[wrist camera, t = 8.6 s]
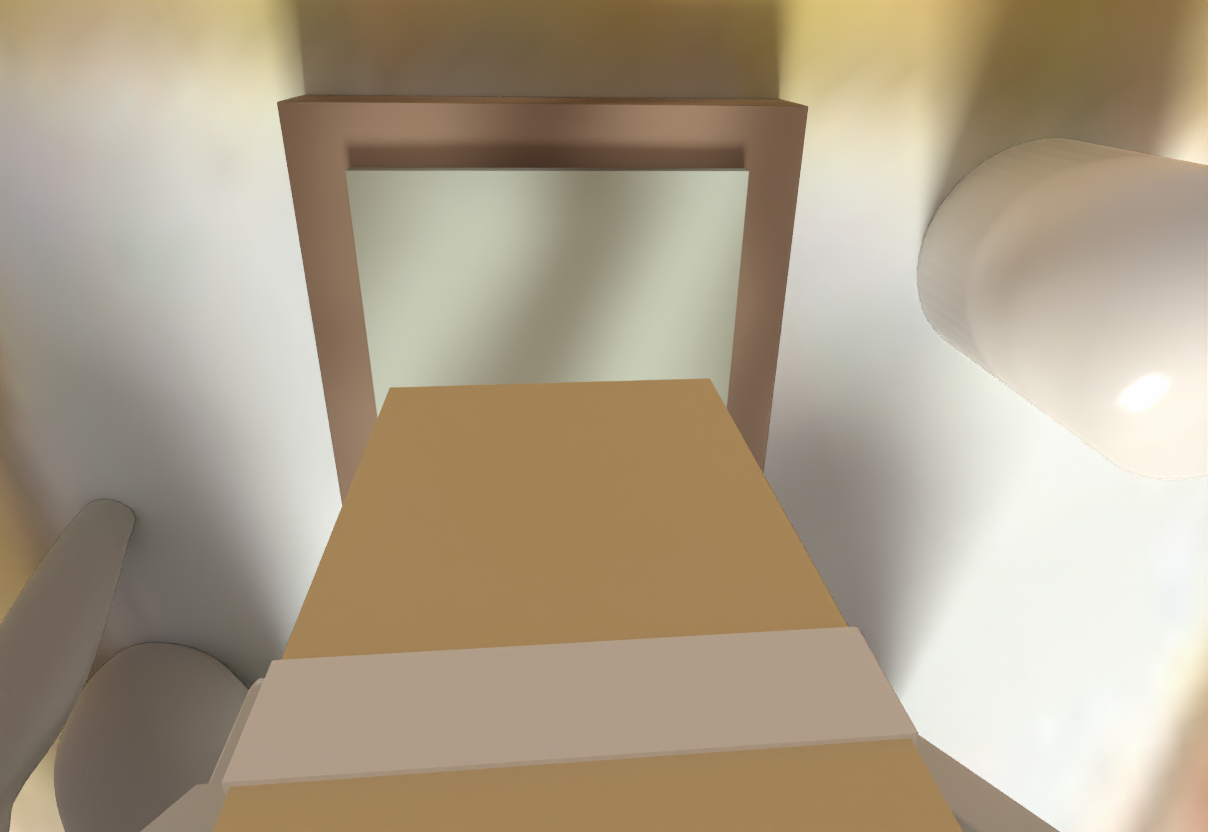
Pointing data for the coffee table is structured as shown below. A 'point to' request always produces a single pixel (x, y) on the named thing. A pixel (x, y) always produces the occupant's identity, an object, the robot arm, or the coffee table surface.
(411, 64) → the coffee table surface
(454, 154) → the wooden picture frame
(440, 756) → the carton
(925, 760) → the robot arm
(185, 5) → the coffee table surface
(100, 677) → the elf figurine
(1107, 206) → the white rounded cylinder
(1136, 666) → the coffee table surface
